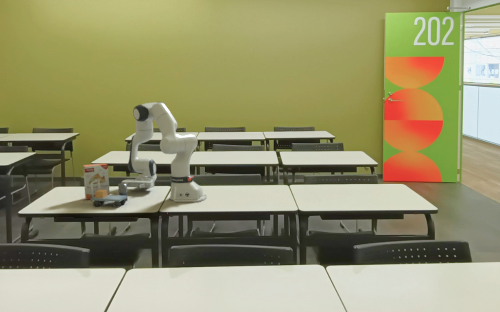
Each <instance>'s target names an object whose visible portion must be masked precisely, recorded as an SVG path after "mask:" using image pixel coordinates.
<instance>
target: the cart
mask: <svg viewBox="0 0 500 312" xmlns="http://www.w3.org/2000/svg"><path fill="white" fill-rule="evenodd" d="M97 181H98V190H100V180H99V179H98V180H95V181H93V182H91V191H92V198H91V199H90V201H93V202H92V205H93V206H94V207H98V206H100V205H101V204H104V203H106V202H113V207H114V208H119V207H120V206H121V205H124V204H126V202H127V201H126V200H125V199H126V198H127V199H128V195H127V196H122V195H119V194H117V195H116V194H110V195H107V196H106V197H104V198H95V197H94V193H93V183H95V182H97Z"/></svg>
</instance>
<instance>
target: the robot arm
mask: <svg viewBox="0 0 500 312" xmlns="http://www.w3.org/2000/svg"><path fill="white" fill-rule="evenodd" d="M132 114H133V117H134V119H135V133H134V134H133V135H132V136H131V140H130V149H129V159H128V162H127V169H128V171H130V172H131V173H133V174H134V173H135V174H136V173H138V174H139V173H141V174H139V175H137V176H136V177H135V179H133V178H132V179H131V178H127V179H124V180H122V181H121V183H126V184H127V188H138V189H141V190H142V189H148V188H149V189H150V188H154V187H155V181H156V180H157V177H158V174H157V170H158V169H157V163H156V162H155V160H154V159H152V158H151V159H150V158H143V157H141V158H139V157H138V151H139V146H140V145H141V144H144V143H147V142H149V141H151V139H152V138H153V136H154V123H153V122H155V123H156V126H157V127H158V129H159V131H160V133H161V140H160V142H159V148H160V150H161V152H162V153H163V154H165V155H175V154H176V155H175V156H174V157H175V158H174V159H173V160H171V162H170V173H171V175H170V185H171V186H170V187H171V188H170V190H171V191H170V195H169V199H170V200H171V201H173V202H175V203H178V202H179V203H188V202H189V203H191V202H193V203H194V202H195V203H198V202H199V203H200V202H202V201H204V200H206V199H207V198H208V196H207V194H204V190H203V187H202V186H201V185H199V184H198V183H196V182H195V181H194V175H191V174H190V172H191V171H190V170H191V169H190V166H191V165H190V163H191V162H190V161H191V158H192V156H193V153H194V151H195V149H196V148H197V147H198V143H199V142H198V138H197V136H196V135H195V134H193V133H180V134H178V133H177V131H176V130H177V129H178V122H177V120H176V118H175V117H174V115H173V114H172V112H171V110H170V109H169V108H168V107H167V105H166V104H165V103H164V101H163V102H162V101H156V102H155V101H154V102H146V103H142V104H138V105H136V106H134V108H133V111H132Z"/></svg>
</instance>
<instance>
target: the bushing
mask: <svg viewBox="0 0 500 312" xmlns="http://www.w3.org/2000/svg"><path fill="white" fill-rule="evenodd" d="M117 185H118V195H122V196H127V198H126V199H125V200H126V202H127V201H128V187H127V184H126V183H122V182H121V183H118V184H117Z"/></svg>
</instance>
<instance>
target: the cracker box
mask: <svg viewBox="0 0 500 312" xmlns="http://www.w3.org/2000/svg"><path fill="white" fill-rule="evenodd" d="M82 166H83V168H82V169H83V184H84V195H85V196H84V198H85V200H87V201H88V200H91V198H92V191H91V182H93V181H95V180H98V179H99V180H100V190H107V195H111V194H110V181H109V178H110V177H109V165H108V163H105V162H104V163H92V164H83V165H82ZM97 190H98V181H97V182H95V183H93V193H94V197H95V191H97Z"/></svg>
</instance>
